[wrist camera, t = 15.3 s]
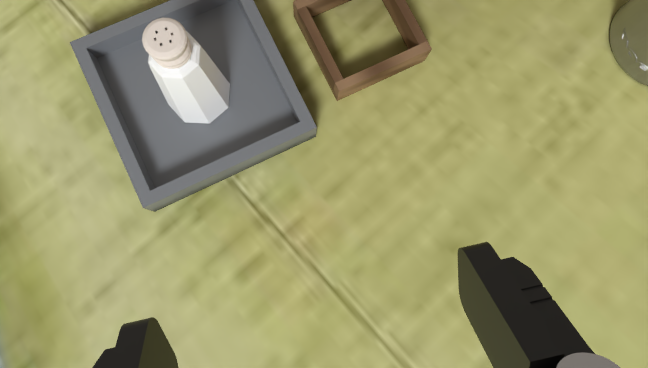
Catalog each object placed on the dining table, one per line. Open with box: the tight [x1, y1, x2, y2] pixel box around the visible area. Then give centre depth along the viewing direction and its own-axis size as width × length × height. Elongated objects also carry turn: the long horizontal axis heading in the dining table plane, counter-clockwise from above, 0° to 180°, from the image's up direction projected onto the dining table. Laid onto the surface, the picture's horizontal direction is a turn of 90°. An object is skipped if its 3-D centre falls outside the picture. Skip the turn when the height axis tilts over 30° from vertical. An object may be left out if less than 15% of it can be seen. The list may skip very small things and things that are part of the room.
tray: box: [70, 0, 317, 212], centre depth 41 cm, size 15×15×3 cm
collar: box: [293, 0, 431, 101], centre depth 43 cm, size 9×9×2 cm
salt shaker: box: [142, 18, 230, 124], centre depth 36 cm, size 5×5×11 cm
